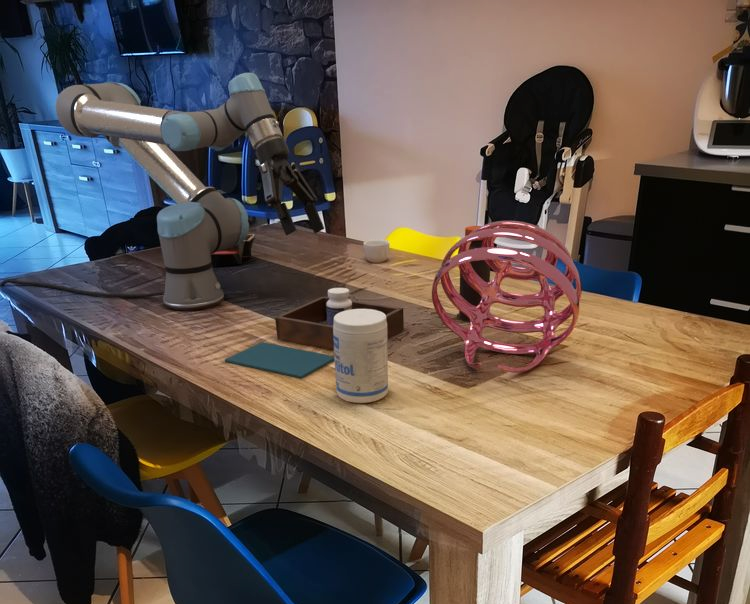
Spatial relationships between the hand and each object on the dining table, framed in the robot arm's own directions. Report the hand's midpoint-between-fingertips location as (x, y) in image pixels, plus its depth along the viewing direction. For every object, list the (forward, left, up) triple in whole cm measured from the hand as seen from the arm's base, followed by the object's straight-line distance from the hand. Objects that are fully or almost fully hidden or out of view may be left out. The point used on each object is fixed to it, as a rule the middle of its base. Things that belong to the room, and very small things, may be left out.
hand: (305, 232), depth 178 cm
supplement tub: (+43, -42, -18) cm, 62 cm away
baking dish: (-51, +25, -18) cm, 60 cm away
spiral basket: (+59, -14, -18) cm, 63 cm away
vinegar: (+41, +8, -18) cm, 45 cm away
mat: (+18, -35, -18) cm, 43 cm away
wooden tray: (+20, -16, -18) cm, 31 cm away
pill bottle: (+20, -16, -18) cm, 31 cm away
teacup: (-10, +45, -18) cm, 50 cm away
